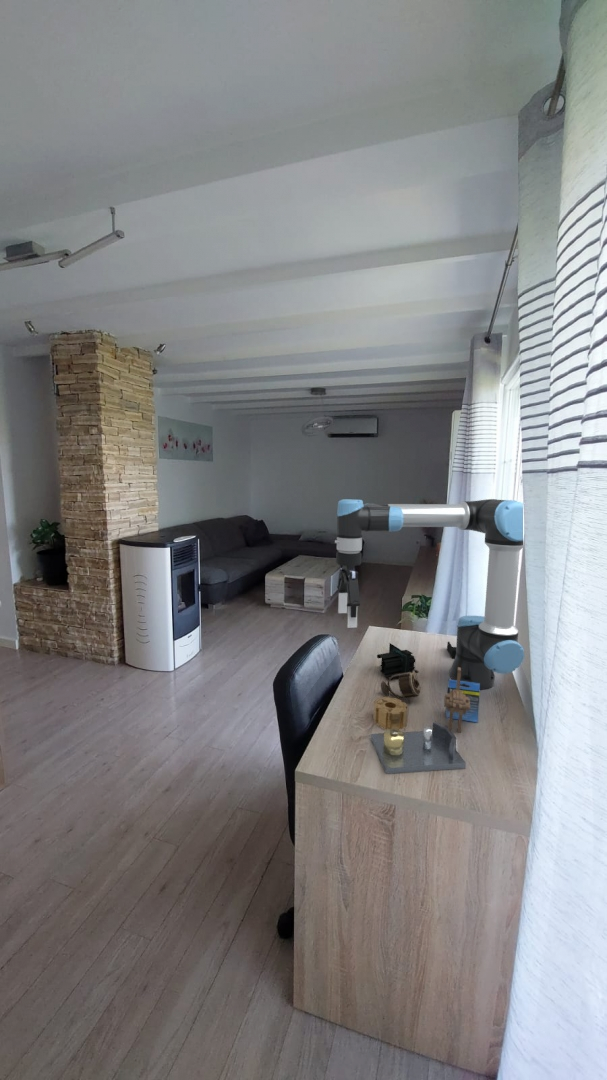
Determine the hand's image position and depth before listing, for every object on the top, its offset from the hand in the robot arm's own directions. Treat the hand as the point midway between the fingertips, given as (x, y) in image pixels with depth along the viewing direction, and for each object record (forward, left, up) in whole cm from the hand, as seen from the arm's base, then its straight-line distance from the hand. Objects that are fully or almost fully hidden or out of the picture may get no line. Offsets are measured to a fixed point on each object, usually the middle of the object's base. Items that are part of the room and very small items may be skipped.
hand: (347, 619), depth 130 cm
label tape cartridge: (-33, +11, -28) cm, 45 cm away
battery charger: (-57, -33, -28) cm, 72 cm away
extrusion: (-23, -18, -28) cm, 41 cm away
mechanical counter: (-18, 0, -28) cm, 33 cm away
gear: (-11, +11, -28) cm, 32 cm away
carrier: (-13, +26, -28) cm, 40 cm away
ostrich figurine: (-26, +21, -28) cm, 44 cm away
